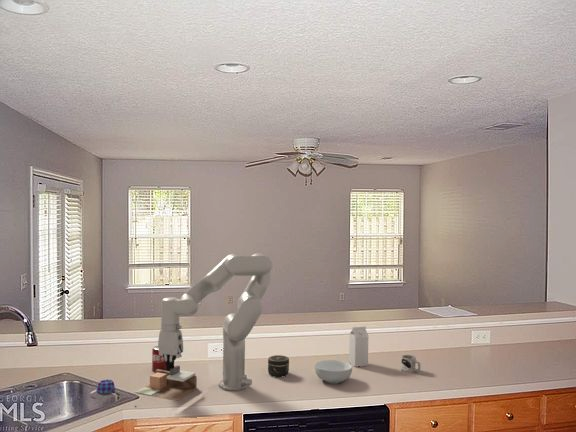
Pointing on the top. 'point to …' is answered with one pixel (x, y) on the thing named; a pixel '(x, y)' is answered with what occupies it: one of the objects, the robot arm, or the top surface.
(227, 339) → the robot arm
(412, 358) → the mug
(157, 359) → the soda can
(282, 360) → the jar
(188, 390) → the puzzle board
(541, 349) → the top surface
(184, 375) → the sliding lid
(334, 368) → the cereal bowl
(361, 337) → the milk carton
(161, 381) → the terracotta block
